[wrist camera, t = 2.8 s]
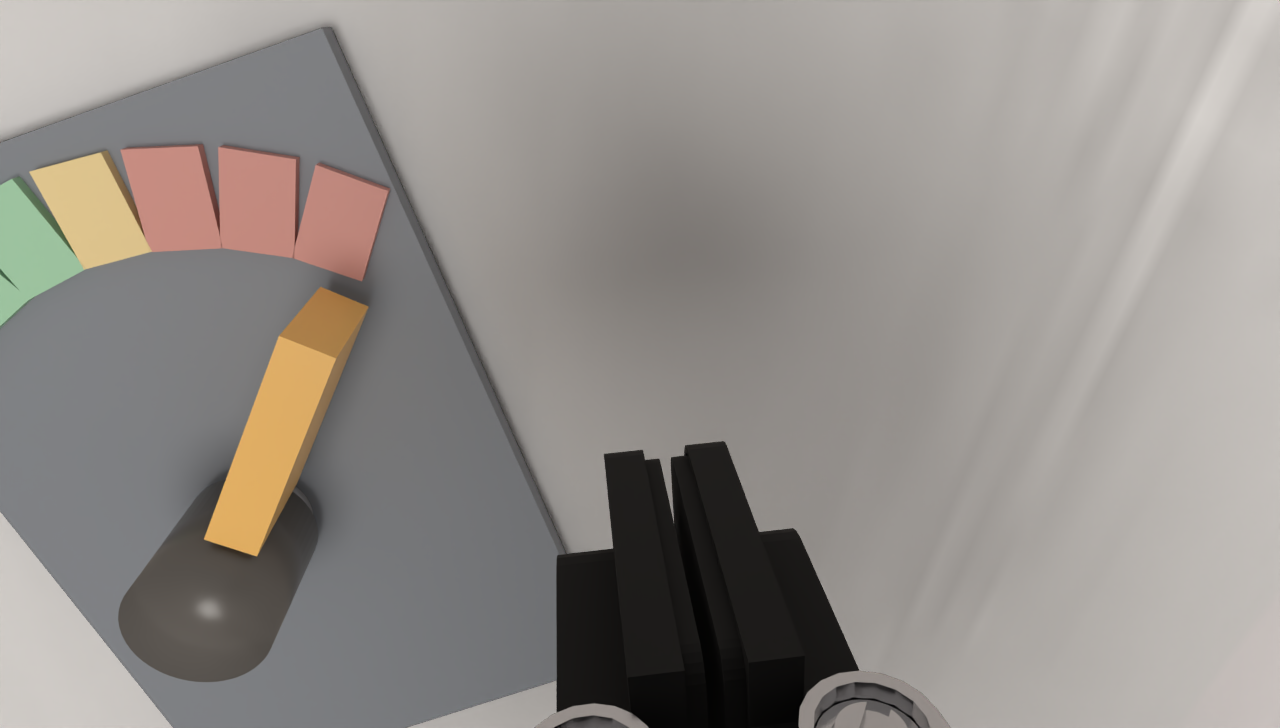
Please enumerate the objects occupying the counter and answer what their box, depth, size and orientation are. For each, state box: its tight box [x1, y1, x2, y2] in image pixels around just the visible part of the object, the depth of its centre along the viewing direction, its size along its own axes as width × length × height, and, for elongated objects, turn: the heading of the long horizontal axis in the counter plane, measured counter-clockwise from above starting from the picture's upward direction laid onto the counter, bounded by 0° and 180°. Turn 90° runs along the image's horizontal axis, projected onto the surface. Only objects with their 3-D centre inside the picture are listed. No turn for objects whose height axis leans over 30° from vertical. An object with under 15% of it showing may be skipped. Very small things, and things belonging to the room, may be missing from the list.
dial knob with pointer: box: [118, 287, 368, 682], centre depth 20 cm, size 9×3×4 cm, turn 153°
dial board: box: [0, 27, 566, 728], centre depth 23 cm, size 20×14×1 cm
